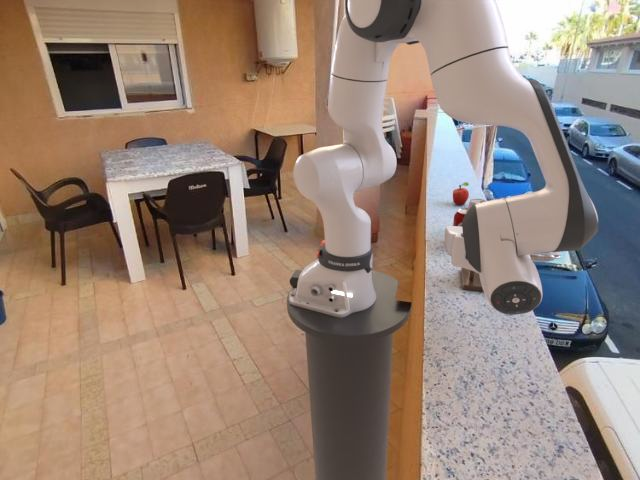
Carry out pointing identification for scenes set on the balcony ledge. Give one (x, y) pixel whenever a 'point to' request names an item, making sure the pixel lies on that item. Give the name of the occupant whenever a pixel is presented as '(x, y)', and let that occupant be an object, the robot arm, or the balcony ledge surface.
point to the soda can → (460, 216)
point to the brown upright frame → (471, 280)
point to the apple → (460, 195)
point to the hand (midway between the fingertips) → (492, 227)
